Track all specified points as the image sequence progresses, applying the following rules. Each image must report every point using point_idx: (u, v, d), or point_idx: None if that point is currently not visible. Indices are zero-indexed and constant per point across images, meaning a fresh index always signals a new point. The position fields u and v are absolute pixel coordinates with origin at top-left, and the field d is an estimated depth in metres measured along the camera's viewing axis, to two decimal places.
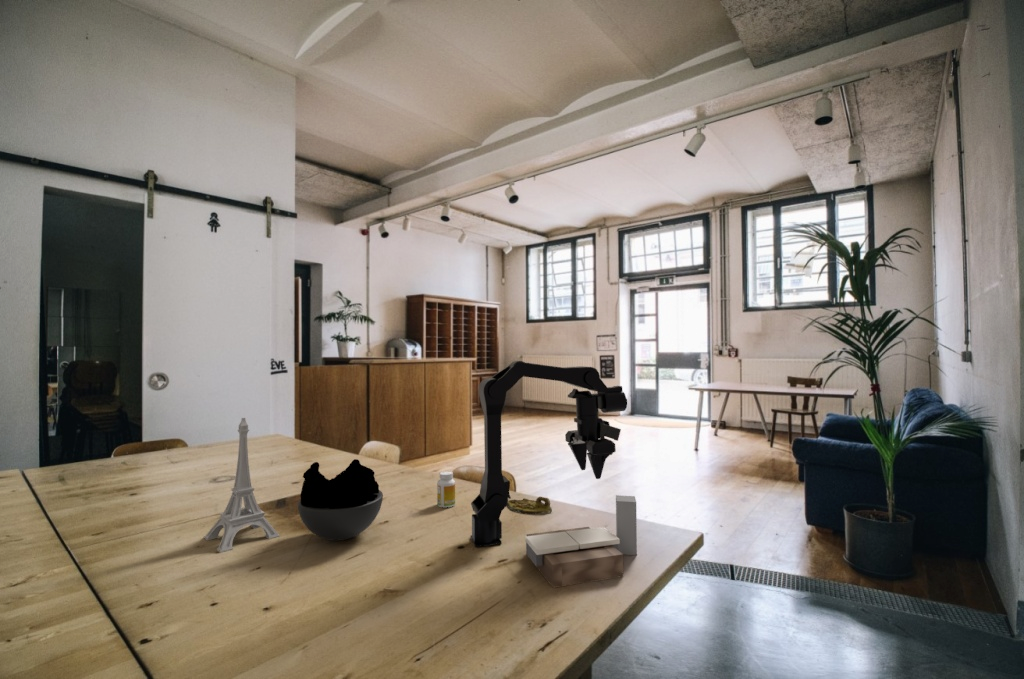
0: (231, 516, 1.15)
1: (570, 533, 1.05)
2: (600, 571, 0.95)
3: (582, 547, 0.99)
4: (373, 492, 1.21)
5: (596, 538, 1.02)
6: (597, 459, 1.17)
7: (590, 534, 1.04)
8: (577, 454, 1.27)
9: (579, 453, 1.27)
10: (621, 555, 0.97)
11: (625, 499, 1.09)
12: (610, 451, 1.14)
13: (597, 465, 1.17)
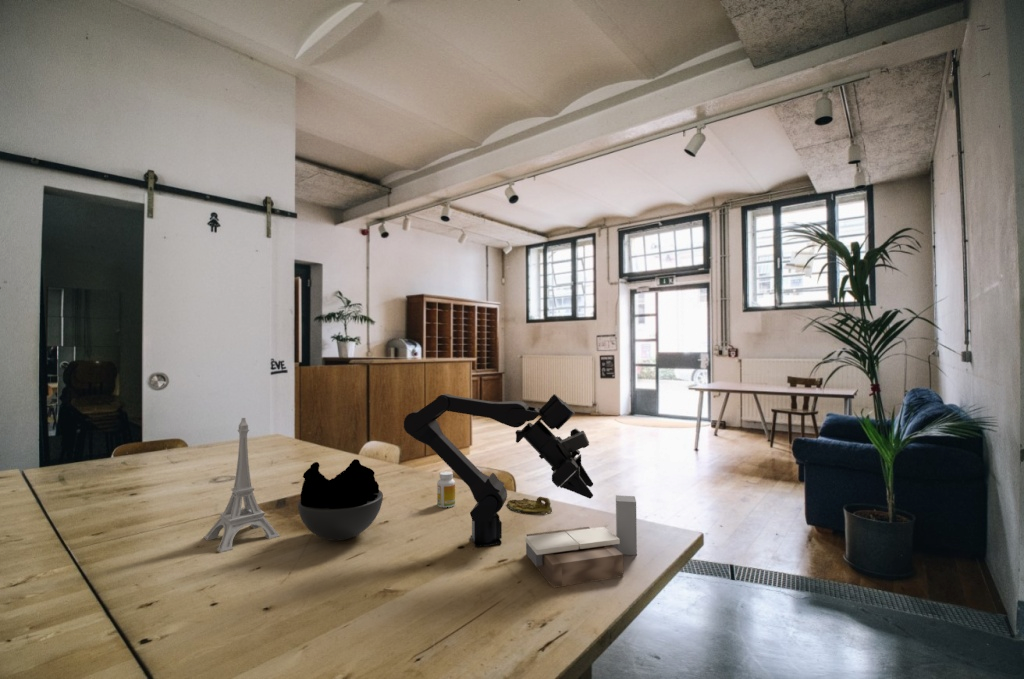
0: (231, 516, 1.15)
1: (570, 533, 1.05)
2: (600, 571, 0.95)
3: (582, 547, 0.99)
4: (373, 492, 1.21)
5: (596, 538, 1.02)
6: (573, 483, 1.06)
7: (590, 534, 1.04)
8: None
9: None
10: (621, 555, 0.97)
11: (625, 499, 1.09)
12: (571, 473, 1.03)
13: (578, 488, 1.06)
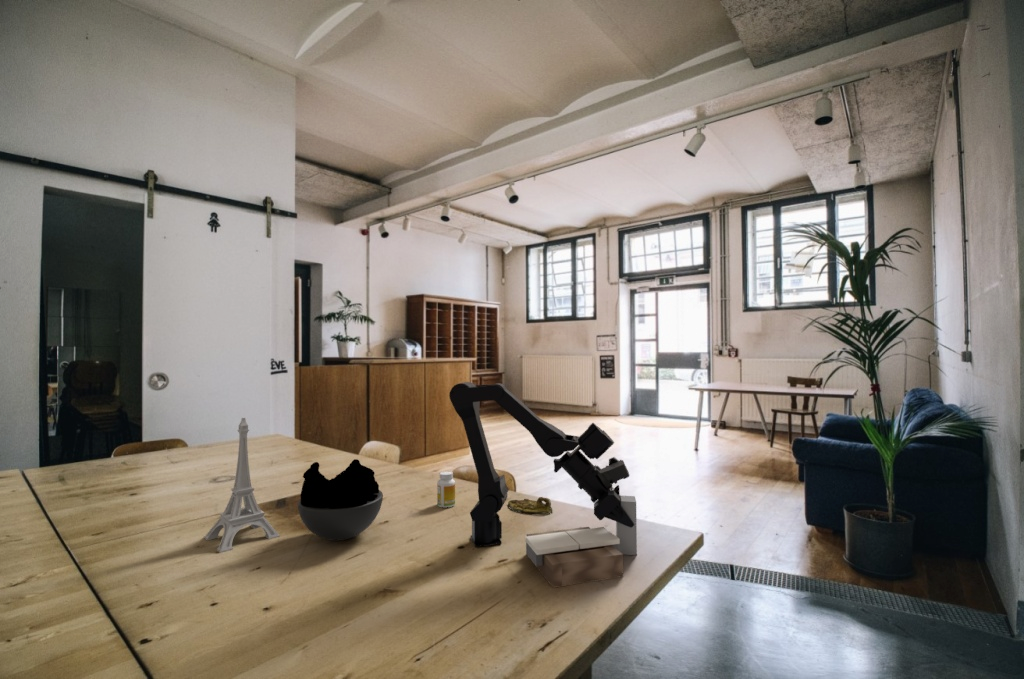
0: (231, 516, 1.15)
1: (570, 533, 1.05)
2: (600, 571, 0.95)
3: (582, 547, 0.99)
4: (373, 492, 1.21)
5: (596, 538, 1.02)
6: (615, 512, 1.06)
7: (590, 534, 1.04)
8: None
9: None
10: (621, 555, 0.97)
11: (625, 499, 1.09)
12: (613, 506, 1.01)
13: (619, 517, 1.06)
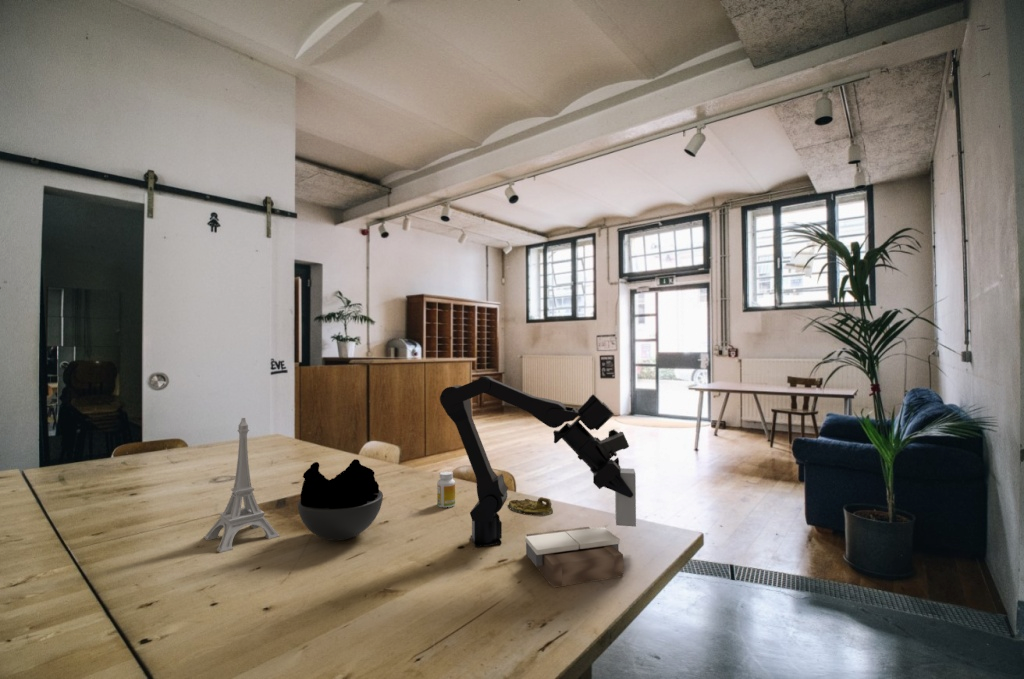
0: (231, 516, 1.15)
1: (570, 533, 1.05)
2: (600, 571, 0.95)
3: (582, 547, 0.99)
4: (373, 492, 1.21)
5: (596, 538, 1.02)
6: (614, 482, 1.07)
7: (590, 534, 1.04)
8: None
9: None
10: (621, 555, 0.97)
11: (625, 471, 1.09)
12: (613, 474, 1.01)
13: (618, 487, 1.06)
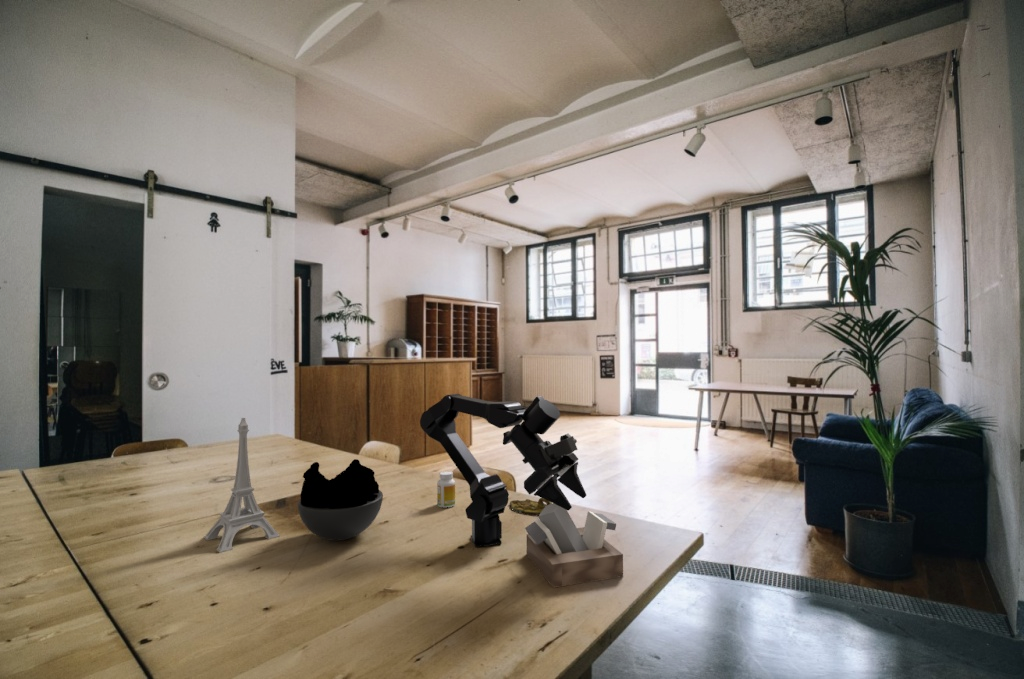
0: (231, 516, 1.15)
1: None
2: (600, 571, 0.95)
3: None
4: (373, 492, 1.21)
5: (594, 541, 1.02)
6: (550, 491, 0.99)
7: (589, 537, 1.04)
8: (568, 485, 1.08)
9: (570, 482, 1.08)
10: (621, 555, 0.97)
11: (548, 510, 1.02)
12: (541, 480, 0.96)
13: (554, 497, 0.98)
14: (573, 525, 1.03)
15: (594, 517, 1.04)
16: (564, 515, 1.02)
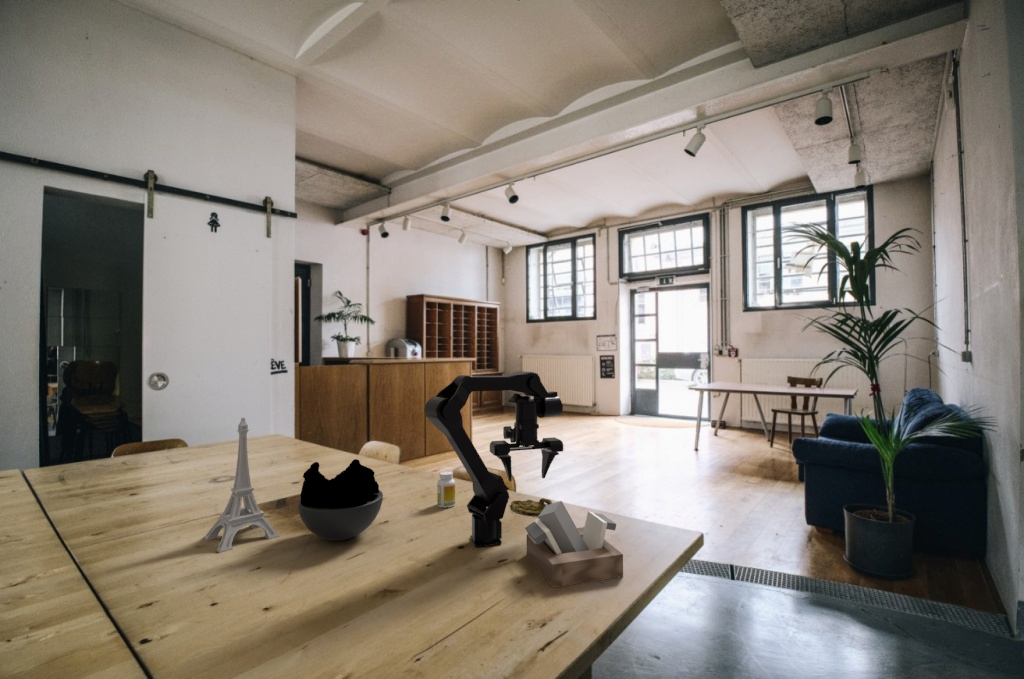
0: (231, 516, 1.15)
1: None
2: (600, 571, 0.95)
3: None
4: (373, 492, 1.21)
5: (594, 541, 1.02)
6: None
7: (589, 537, 1.04)
8: None
9: None
10: (621, 555, 0.97)
11: (548, 510, 1.02)
12: None
13: None
14: (573, 525, 1.03)
15: (594, 517, 1.04)
16: (564, 515, 1.02)
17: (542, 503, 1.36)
